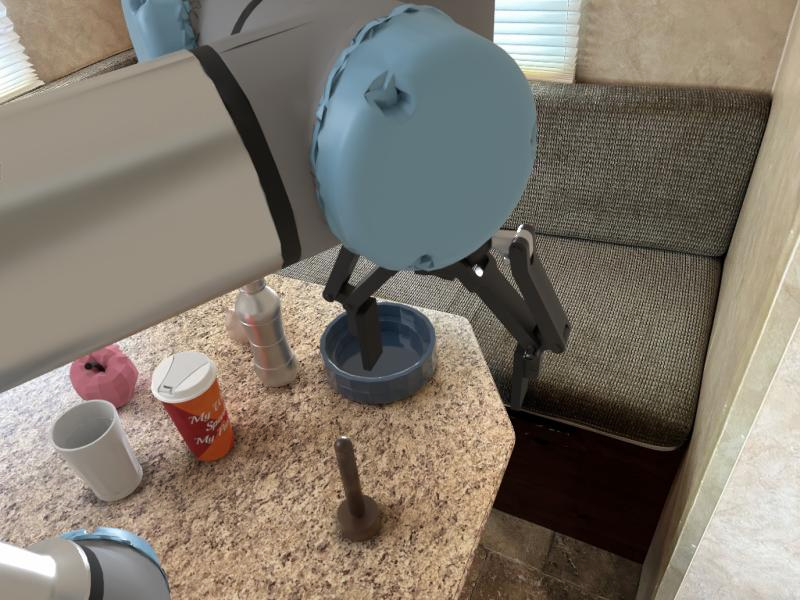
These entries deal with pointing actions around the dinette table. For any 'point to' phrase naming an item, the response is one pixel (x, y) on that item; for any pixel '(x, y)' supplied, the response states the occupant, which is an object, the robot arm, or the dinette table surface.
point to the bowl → (398, 364)
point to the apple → (105, 376)
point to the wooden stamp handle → (354, 497)
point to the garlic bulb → (234, 326)
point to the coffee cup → (194, 403)
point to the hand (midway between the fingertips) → (442, 378)
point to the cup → (97, 449)
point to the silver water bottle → (266, 333)
